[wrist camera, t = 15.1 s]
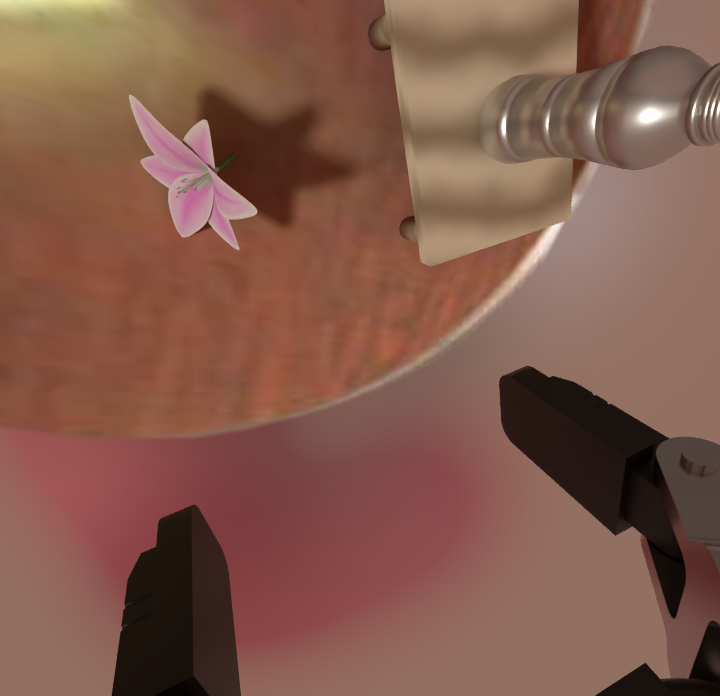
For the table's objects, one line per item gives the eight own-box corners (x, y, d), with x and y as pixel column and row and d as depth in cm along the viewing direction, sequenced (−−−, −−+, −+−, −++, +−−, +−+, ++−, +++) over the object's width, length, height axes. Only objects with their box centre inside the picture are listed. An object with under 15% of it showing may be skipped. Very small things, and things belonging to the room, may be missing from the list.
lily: (139, 75, 35) (72, 104, 28) (280, 90, 35) (249, 122, 28) (171, 213, 43) (126, 262, 36) (286, 225, 43) (263, 277, 36)
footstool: (355, 11, 38) (393, -20, 31) (515, -18, 41) (580, -51, 34) (396, 250, 48) (430, 266, 41) (520, 210, 52) (570, 219, 45)
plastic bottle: (540, 102, 38) (819, 63, 21) (505, 175, 40) (738, 194, 23) (490, 63, 36) (768, -17, 19) (454, 144, 37) (678, 140, 20)
